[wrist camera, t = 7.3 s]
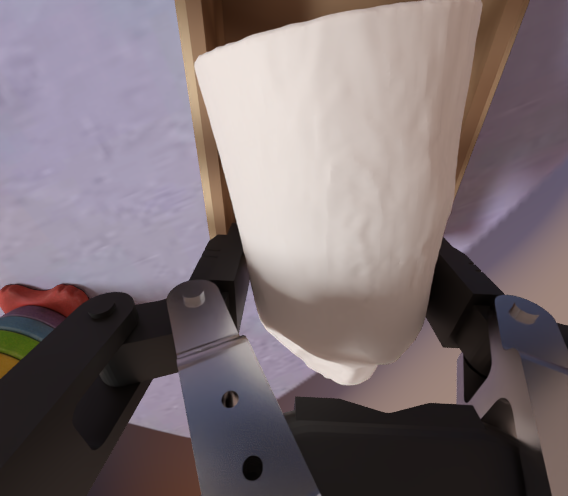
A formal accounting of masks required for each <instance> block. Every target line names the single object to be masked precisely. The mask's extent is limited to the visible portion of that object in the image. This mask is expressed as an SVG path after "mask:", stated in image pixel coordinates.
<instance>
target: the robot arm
mask: <svg viewBox="0 0 568 496" xmlns="http://www.w3.org/2000/svg"><path fill="white" fill-rule="evenodd" d="M249 281H250V278H249V273H248V269H247V264H246V258H245V254H244V251H243V246H242V242H241V237H240V233H239V229H238V225H237V223H232V224H231V226H230V229H229V231H228V233H227V235H221V234H218V235H216V236H215V237H214V238H212V239H211V240H210V241H209V242H208V244H207V246H206V248H205V251H204V252H203V254H202V257H201V258H200V260H199V262H198V264H197V266H196V268H195V270H194V272H193V274H192V276H191V277H190V279H189V281H186V282H183V283H181V284H179V285H177V286H176V287H174V288H173V289H172V290H171V291H170V293H169V294H168V296H167V299H164V300H160V301H155V302H150V303H144V304H139V305H135V303H134V301H133V298H132V297H131V296H130V295H128V294H126V293H121V292H111V293H105V294H101V295H98V296H96V297H93V298H91V299H89V300H87V301H86V302H84V303H83V304H81V305H80V306H79V307H78V308H76V309H75V310H74V311H73V312H72V313H71V314H70V315H69V316H68V317H67V318H66V319H65V320H64V321H62V322H61V323H60V324H59V325H58V326H57V327H56V328H55V329H54V330H53V331H52V332H51V333H49V334H48V335H47V336H46V337H45V338H44V339H43V340H42V341H41V342H40V343H39V344H38V345H36V346H35V347H34V348H33V349H32V350H31V351H30V352H29V353H28V354H27V355H26V356H25V357H23V358H22V359H21V360H20V361H19V362H18V363H17V364H16V365H15V366H14V367H13V368H12V369H10V370H9V371H8V372H7V373H6V374H5V375H4V376H3V377H2V378H1V379H0V496H86V495H87V494H88V492H89V490H90V488H91V487H92V485H93V483H94V482H95V480H96V478H97V476H98V474H99V473H100V471H101V469H102V468H103V466H104V464H105V462H106V461H107V459H108V457H109V455H110V454H111V452H112V450H113V448H114V446H115V445H116V443H117V441H118V439H119V437H120V436H121V434H122V432H123V431H124V429H125V427H126V425H127V424H128V422H129V420H130V418H131V417H132V415H133V413H134V411H135V410H136V408H137V406H138V404H139V403H140V401H141V399H142V397H143V396H144V394H145V392H146V390H147V388H148V387H149V385H150V383H151V381H152V380H153V379H154V378H158V377H162V376H166V375H169V374H173V373H177V372H179V377H180V383H181V388H182V393H183V399H184V404H185V409H186V415H187V420H188V425H189V431H190V436H191V441H192V447H193V451H194V457H195V463H196V468H197V473H198V479H199V484H200V489H201V496H568V326H567V325H563V324H559V323H556V321H555V319H554V318H553V316H552V315H550V314H549V312H547V311H546V310H545V309H543V308H542V307H540V306H539V305H537V304H535V303H533V302H531V301H529V300H527V299H524V298H521V297H517V296H513V295H505V294H504V293H503V292H502V291H501V290H500V289H499V288H498V287H497V286H496V285H495V284H494V283H493V282H492V281H491V280H490V279H489V278H488V277H487V276H486V275H485V274H484V273H483V272H481V270H480V269H479V268H478V267H477V266H476V265H474V263H473V262H472V261H471V260H470V259H469V258H468V257H467V256H466V255H465V254H464V253H462V252H460V251H459V250H457V249H455V248H454V247H452V246H451V245H450V244H449V242H448V241H447V240H446V239H445V238H444V237H443V238H442V243H441V247H440V249H439V253H438V258H437V261H436V264H435V269H434V275H433V280H432V284H431V290H430V296H429V302H428V307H427V312H426V318H427V320H428V322H429V323H430V325H431V327H432V329H433V330H434V332H435V334H436V336H437V337H438V339H439V341H440V342H441V345H442V346H443V347H447V348H448V347H449V348H460V350H461V351H462V353H461V354H460V356H459V357H458V359H457V404H439V403H428V404H424V405H420V406H416V407H412V408H409V409H404V410H400V411H397V412H393V413H384V412H381V411H377V410H374V409H371V408H368V407H364V406H361V405H358V404H355V403H351V402H348V401H345V400H342V399H334V398H313V397H295V404H294V411H290V412H286V413H282V411H281V409H280V407H279V405H278V402H277V400H276V398H275V396H274V394H273V392H272V390H271V387H270V385H269V383H268V381H267V379H266V377H265V375H264V373H263V370H262V368H261V366H260V364H259V362H258V360H257V358H256V355H255V353H254V351H253V349H252V347H251V345H250V343H249V341H248V339H247V338H246V336H245V335H242V336H239V330H240V325H241V320H242V315H243V310H244V305H245V301H246V296H247V291H248V286H249Z"/></svg>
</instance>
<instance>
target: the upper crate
mask: <svg viewBox="0 0 568 496" xmlns="http://www.w3.org/2000/svg"><path fill="white" fill-rule="evenodd" d="M412 1H422V0H185V4H186V11H187V19H188V26H189V34H190V41H191V49H192V56H193V64H195V61H196V59H197V58H198V56H199V55H202V54H204V53H206V52H209V51H212V50H213V49H215V48H216V47H219V46H224V45H226V44H228V43H233V42H237V41H239V40H242V39H244V38H246V37H248V36H250V35H253V34H257V33H261V32H265V31H268V30H273V29H277V28H281V27H283V26H286V25H289V24H293V23H301V22H306V21H310V20H313V19H316V18H319V17H322V16H326V15H330V14H335V13H340V12H345V11H350V10H356V9H366V8H372V7H376V6H381V5H390V4H395V3H400V2H412ZM481 1H482V4H483V5H482V11H481V16H480V24H479V28H478V32H477V37H476V43H475V51H474V58H473V63H472V70H471V76H470V82H469V88H468V93H467V98H466V103H465V108H464V114H463V120H462V125H461V133H460V140H459V149H458V157H457V168H456V176H455V185H456V182H457V179H458V177H459V174H460V171H461V169H462V166H463V163H464V160H465V158H466V155H467V152H468V150H469V147H470V144H471V142H472V139H473V136H474V134H475V131H476V128H477V125H478V123H479V120H480V117H481V115H482V112H483V109H484V107H485V104H486V101H487V99H488V96H489V93H490V90H491V88H492V85H493V82H494V80H495V77H496V74H497V72H498V69H499V66H500V63H501V61H502V58H503V55H504V53H505V50H506V47H507V45H508V42H509V39H510V37H511V34H512V31H513V28H514V26H515V23H516V20H517V18H518V15H519V12H520V10H521V7H522V4H523V2H524V0H481ZM194 71H195V68H194ZM195 79H196V86H197V94H198V101H199V109H200V116H201V124H202V131H203V139H204V146H205V154H206V162H207V169H208V177H209V184H210V192H211V199H212V207H213V214H214V222H215V229H216V235H218V234H221V235H227V233H228V231H229V229H230V226H231V224H232V223H237V222H236V218H235V213H234V210H233V205H232V201H231V198H230V193H229V190H228V186H227V182H226V178H225V174H224V171H223V167H222V163H221V159H220V155H219V152H218V148H217V144H216V141H215V138H214V134H213V131H212V128H211V124H210V119H209V116H208V113H207V109H206V106H205V103H204V99H203V96H202V93H201V89H200V86H199V83H198V79H197V75H196V72H195Z"/></svg>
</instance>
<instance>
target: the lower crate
mask: <svg viewBox="0 0 568 496" xmlns="http://www.w3.org/2000/svg"><path fill="white" fill-rule="evenodd" d="M529 1H530V0H524V2H523V4H522V7H521V10H520V12H519V15H518V18H517V20H516V23H515V26H514V28H513V31H512V34H511V37H510V39H509V42H508V45H507V47H506V50H505V53H504V55H503V58H502V61H501V63H500V66H499V69H498V72H497V74H496V77H495V80H494V82H493V85H492V88H491V90H490V93H489V96H488V99H487V101H486V104H485V107H484V109H483V112H482V115H481V117H480V120H479V123H478V125H477V128H476V131H475V134H474V136H473V139H472V142H471V144H470V147H469V150H468V152H467V155H466V158H465V160H464V163H463V166H462V169H461V171H460V174H459V177H458V179H457V182H456V185H455V192H454V198H455V196H456V193H457V191H458V188H459V185H460V183H461V180H462V177H463V175H464V172H465V169H466V167H467V164H468V162H469V159H470V156H471V154H472V151H473V148H474V146H475V143H476V141H477V138H478V135H479V133H480V130H481V127H482V125H483V122H484V119H485V117H486V114H487V112H488V109H489V106H490V104H491V101H492V98H493V96H494V93H495V91H496V88H497V85H498V83H499V80H500V77H501V75H502V72H503V69H504V67H505V64H506V62H507V59H508V56H509V54H510V51H511V48H512V46H513V43H514V41H515V38H516V35H517V33H518V30H519V27H520V25H521V22H522V19H523V17H524V14H525V12H526V9H527V6H528V4H529ZM175 7H176V13H177V20H178V27H179V33H180V40H181V47H182V54H183V60H184V67H185V74H186V80H187V87H188V94H189V101H190V107H191V114H192V121H193V128H194V134H195V141H196V148H197V154H198V161H199V168H200V175H201V181H202V188H203V195H204V201H205V208H206V215H207V222H208V228H209V235H210V240H211V239H212V238H214V237H215V236H216V229H215V222H214V214H213V207H212V199H211V192H210V184H209V177H208V169H207V162H206V154H205V146H204V139H203V131H202V124H201V116H200V109H199V101H198V94H197V86H196V79H195V71H194V64H193V56H192V49H191V41H190V34H189V26H188V19H187V11H186V4H185V0H175ZM453 201H454V200H453Z"/></svg>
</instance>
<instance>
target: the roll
mask: <svg viewBox="0 0 568 496" xmlns="http://www.w3.org/2000/svg"><path fill="white" fill-rule="evenodd" d="M482 5H483V4H482V1H481V0H422V1H412V2H400V3H395V4H390V5H381V6H376V7H372V8H366V9H356V10H350V11H345V12H340V13H335V14H330V15H326V16H322V17H319V18H316V19H313V20H310V21H306V22H301V23H293V24H289V25H286V26H283V27H281V28H277V29H273V30H268V31H265V32H261V33H257V34H253V35H250V36H248V37H246V38H244V39H242V40H239V41H237V42H233V43H228V44H226V45H224V46H219V47H216V48H215V49H213V50H212V51H209V52H206V53H204V54H202V55H199V56H198V58H197V59H196V61H195V64H194V68H195V72H196V75H197V79H198V83H199V86H200V89H201V93H202V96H203V99H204V103H205V106H206V109H207V113H208V116H209V119H210V124H211V128H212V131H213V134H214V138H215V141H216V144H217V148H218V152H219V155H220V159H221V163H222V167H223V171H224V174H225V178H226V182H227V186H228V190H229V193H230V198H231V201H232V205H233V210H234V213H235V218H236V222H237V225H238V229H239V233H240V237H241V242H242V246H243V251H244V254H245V258H246V264H247V269H248V273H249V278H250V282H251V286H252V291H253V295H254V300H255V303H256V307H257V311H258V314H259V318H260V320H261V322H262V324H263V325H264V327H265V328H266V330H267V331H268V332H269V333H270V334H272V335H273V336H274V337H275V338H276V339H277V340H278V341H279V342H280V343H282V344H283V345H284V346H285V347H286V348H288V349H289V350H290V351H291V352H292V353H294V354H295V355H296V356H298V357H299V358H301V359H302V360H303V361H304V362H305V363H306V365H307V366H308V367H309V368H311V369H313V370H314V371H316V372H319V373H321V374H322V375H323V376H324V377H325V378H331V379H332V380H333V381H335V382H337V383H339V384H342V385H357V384H360V383H362V382H363V381H365V380H367V379H369V378H370V377H371V375H372V374H373V373H374V371H375V370H376V368H377V366H378V365H381V364H383V365H384V364H390V363H393V362H395V361H397V360H398V359H399V358H400V356H401V355H402V354H403V353H404V352H405V351H406V350H407V349H408V347H409V346H410V345H411V344H412V343H413V342H414V340H416V338H417V336H418V334H419V332H420V331H421V328H422V326H423V324H424V320H425V317H426V312H427V307H428V302H429V296H430V290H431V284H432V280H433V275H434V269H435V264H436V261H437V258H438V253H439V249H440V247H441V243H442V238H443V235H444V230H445V228H446V223H447V220H448V218H449V216H450V214H451V210H452V204H453V200H454V192H455V176H456V168H457V157H458V149H459V140H460V133H461V125H462V120H463V114H464V108H465V103H466V98H467V93H468V88H469V82H470V76H471V70H472V63H473V58H474V51H475V43H476V37H477V32H478V28H479V24H480V16H481V11H482Z"/></svg>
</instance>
